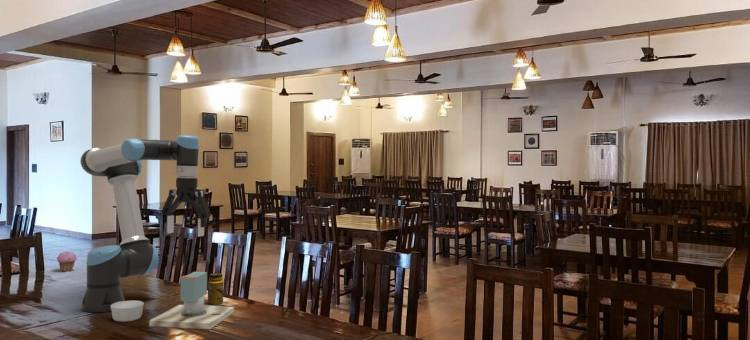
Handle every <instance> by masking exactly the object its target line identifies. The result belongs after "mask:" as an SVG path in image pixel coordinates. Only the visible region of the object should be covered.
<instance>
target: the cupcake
mask: <svg viewBox="0 0 750 340" xmlns="http://www.w3.org/2000/svg"><path fill="white" fill-rule="evenodd" d="M56 261H57V262H58V265H59V269H60V271H61V272H64V273H67V272H66V271H68V272H71V271H73V268H74V266H75V262H76V261H77V255H76V254H75V252H72V251H64V252H59V255H58V256H57V257H56Z"/></svg>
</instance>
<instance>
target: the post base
mask: <svg viewBox="0 0 750 340" xmlns="http://www.w3.org/2000/svg"><path fill="white" fill-rule="evenodd" d="M234 313H235V306H223V305H217V306H204V312H203V313H200V314H185V313H184V304H178V305H175V306H174V307H172V308H170V309H168V310H167V311H165V312H163V313H161V314H158V315H157V316H155V317H153V318H151V319H149V325H148V326H149V327H154V328H155V327H159V328H160V327H161V328H175V329H176V328H178V329H196V330H197V329H200V330H212V329H213V328H214V327H216V326H217V325H219V324H220V323H221V322H222V321H224V320H226V319H227V318H228V317H230V316H231V315H233V314H234Z"/></svg>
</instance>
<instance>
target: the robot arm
mask: <svg viewBox="0 0 750 340" xmlns="http://www.w3.org/2000/svg"><path fill="white" fill-rule="evenodd" d="M199 148H200V145H199V137H198V136H196V135H184V134H183V135H181V134H179V135H178V136H177V139H176V140H171V139H169V140H168V139H165V140H164V139H146V138H145V139H142V138H137V137H136V138H127V139H124V141H123V142H122V143H119V144H116V145H112V146H108V147H105V148H104V147H102V148H101V147H93V148H90V149H87V150H85V151H84V152H83V154H82V155H81V157H80V167H82V169H83V170H84V172H86V173H87V174H89V175H91V176H95V177H106V178H107V183H108V184H109V185H111V186H112V188H113V195H114V202H115V208H116V212H117V217H118V218H117V220H118V224H119V225H118V226H119V231H120V236H121V242H120V243H119V244H118V245H116V244H114V245H111V244H110V245H103V246H100V247H96V248H92V249H91V250H90V251H89V252H88V253H87V257H86V290H85V293H84V296H83V299H82V302H81V311H83V312H87V313H104V312H106V313H107V312H112V311H111V308H110V307H111V305H112V304H114V303H116V302H121V301H126V300H125V298H124V297H125V296H124V294H123V291H122V288H121V279H124V278H130V277H134V276H143V275H147V274H150V273H152V272H153V271H155V269H156V268H157V265H158V262H159V252H158V249H157V247H156V245H153V244H151V242H150V239H149V238H147V237H146V236H145V230H144V226H143V220H142V215H141V210H140V204H139V203H140V202H139V200H138V199H139V198H138V193H137V186H136V181H137V180H138V176H139V175H140V174H141V171H142V167H143V166H142V161H150V160H151V161H176V169H175V171H176V172H175V173H176V174H175V175H176V179H175V187H176V189H175V188H174V189H169V190H168V196H167V198H166V200H165V202H164V204H163V207H162V210H161V211H160V212H161V214H164V215H165V224H166V233H167V234H172V233H174V230H175V229H174V228H175V226H174V225H175V224H174V223H175V215H174V213H175V212H176V210H177V208H178V207H179V206H180V205H181V204H182V203H187V204H188V203H189V204H190V205H191V206H192V208H193V209H194V210H195V212H196V214H197V215H198V217H199V218H197V237H198V238H199V237H204V236H205V228H206V227H207V218H209V217H211V216H212V213H211V211H210V208H209V205H208V202H207V200H206V197H205V191H204V190H199V191H197V188H198V178H197V177H198V176H199V174H198V173H199V170H198V169H199V151H200V150H199Z"/></svg>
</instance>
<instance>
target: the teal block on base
mask: <svg viewBox="0 0 750 340" xmlns="http://www.w3.org/2000/svg"><path fill="white" fill-rule="evenodd" d="M179 292H180V295H179V297H180V301H181V302H183V305H184V313H185V314H200V313H203V312H204V302H205V295H208V271H192V272H191V273H189V274H186V275H182V276H181V277H180V291H179Z"/></svg>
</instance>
